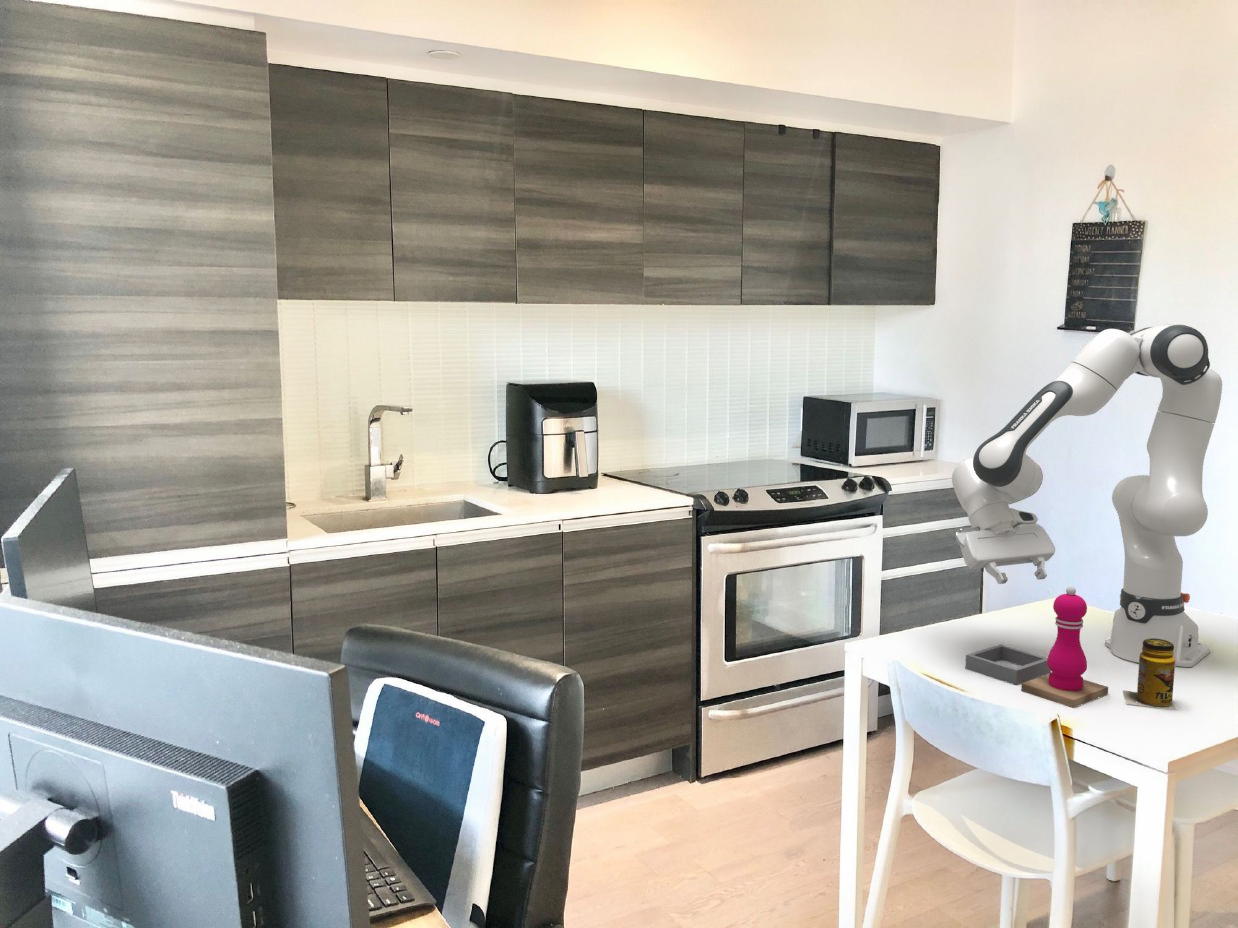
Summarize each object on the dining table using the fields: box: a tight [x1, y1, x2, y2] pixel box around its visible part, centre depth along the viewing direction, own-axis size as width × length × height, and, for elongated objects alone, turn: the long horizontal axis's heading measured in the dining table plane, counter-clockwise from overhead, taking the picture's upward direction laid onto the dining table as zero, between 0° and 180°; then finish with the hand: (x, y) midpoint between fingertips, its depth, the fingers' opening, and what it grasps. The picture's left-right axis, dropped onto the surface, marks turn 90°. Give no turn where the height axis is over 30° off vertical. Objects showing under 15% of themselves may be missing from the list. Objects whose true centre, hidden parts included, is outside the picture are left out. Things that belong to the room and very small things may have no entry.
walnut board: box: [1020, 673, 1109, 709], centre depth 197 cm, size 12×11×2 cm
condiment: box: [1122, 638, 1177, 711], centre depth 191 cm, size 7×8×12 cm
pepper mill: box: [1046, 585, 1088, 691], centre depth 195 cm, size 7×7×20 cm
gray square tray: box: [965, 644, 1052, 686], centre depth 209 cm, size 12×12×3 cm
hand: (1023, 580), depth 207 cm, fingers open, 8 cm apart
